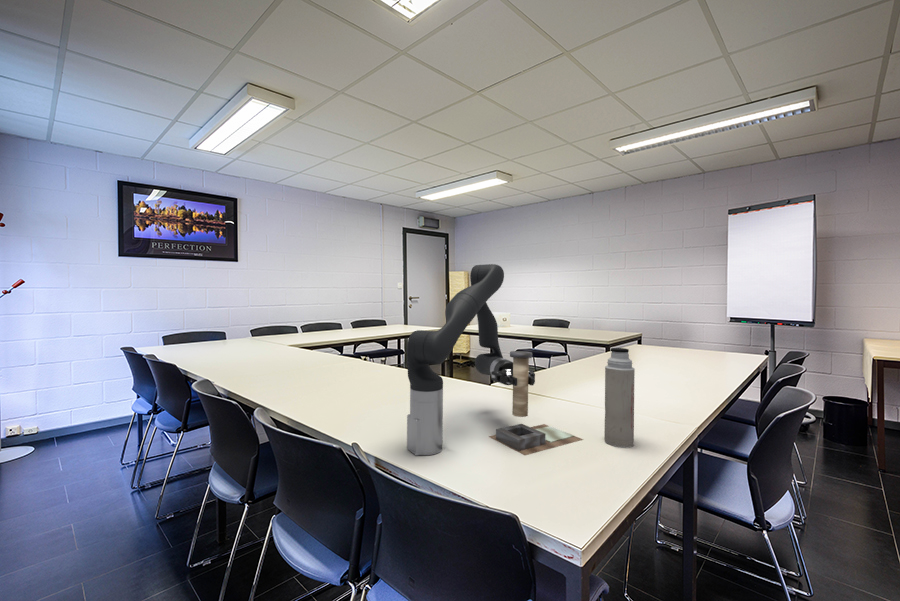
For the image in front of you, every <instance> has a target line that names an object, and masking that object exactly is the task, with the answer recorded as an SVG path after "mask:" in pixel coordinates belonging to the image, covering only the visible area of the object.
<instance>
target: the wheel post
mask: <svg viewBox="0 0 900 601" xmlns="http://www.w3.org/2000/svg"><path fill="white" fill-rule="evenodd" d="M509 357H511V358H512V359H513V361H512V362H513V376H514V377H516V378H517V386H513V385H512V409H511V412H512V414H511V415H512V416H514V417H516V418H525V417H528V416H529V414H528V413H529V384H528V375H529V371H530V368H529V364H530V359H532V358H533V352H532V351H525V350H523V351H522V350H512V351H510V352H509Z"/></svg>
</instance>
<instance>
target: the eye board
mask: <svg viewBox="0 0 900 601" xmlns="http://www.w3.org/2000/svg"><path fill="white" fill-rule="evenodd" d="M488 438H490V439H492V440H494V441H495V442H497V443H500V444H501V445H504V446H505V447H508V448H509V449H512V450H514V451H515V452H517V453H519V454H520V455H523V456H528V455H532V454H537V453H540V452H543V451H547V450H551V449H554V448H558V447H561V446H564V445H565V446H566V445H569V444H572V443H573V444H574V443H576V442H579V441H583V440H584V438H581V437H578V436H576V435H574V434H571V433H569V432H567V431H564V430H562V429H558V428H556V427H553V426H551V425H548V424H545V423H543V424H540V425H539V424H538V425H533V426H528V425H526V424H524V423H519V424H518V423H517V424H515V425H511V426H509V425H508V426H504V427H499V428H496V429H495V434H493V435H488Z"/></svg>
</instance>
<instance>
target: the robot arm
mask: <svg viewBox="0 0 900 601" xmlns="http://www.w3.org/2000/svg"><path fill="white" fill-rule="evenodd" d="M469 276H470V277H469V278H470V280H469V281H470V285H469V286H468V287H466V288H463V289H461V290H460V291H459V292H457V293H456V294H455V295H454V296H453V297H452V298H451V300H449V302H447V304H446V307H445V312H444V313H445V321H446V322H445V324H444V325H443V326H442V327H441V328H440V329H438V330H420V329H419V330H418V329H417V330H414V331H413V332H412V333H411V334H410V335H409V337H408V339H407V343H406V344H407V345H406V360H407V361H406V363H407V378H408V381H409V390H410V391H409V414H407V415H406V449H407V450H408V451H410V452H411V453H412V454H413V455H415V456H430V455H436V454H439V453H440V452H442V451H443V443H444V441H443V439H444V438H443V433H444V432H443V428H444V426H443V425H444V421H443V420H444V418H443V417H444V380H443V377H442V376H441V375H439V374H438V373H436V371H434V370H432V368H431V366H430V365H435V366H436V365H441V364H443V363H444V362H445V361H447V359H448V357H449V356H450V354H451V353H452V350H453V349H454V348H455V345H456V344H457V343H458V340H459V338H461V335H462V334H463V333H464V331H465V330H466V328H467V327H468V326H469V324H470V323H472V321H473V320H474V318H475V317H477V319H476V320H477V327H478V328H477V330H478V344H479V346H480V347H481V348H484V349H491V350H492V352H489V353H488V352H487V353H485V352H484V353H480V354H478V355H476V357H475V360H474V365H475V369H476V371H477V372H478V373H479V374H481V375H485V376H491V381H493V382H495V383H499V384H501V385H504V386H512V387H513V386H517V378H516V377H514V376H513V361H511V360H509V359H507V358H504V356H503V353H502V351H501V347H500V343H499V332H498V330H499V328H498V322H497V320H496V317H495V315H494V313H493V312H492V311H491V309H490V307H489V305H488V303H487V301H488V300H489V299H490V298H492V296H493V295H494V294H495V293H497V291H499V289H500V288H501V287H502V285H503V283H504V279H505V272H504V269H503V267H502V266H501V265H498V264H495V263H490V264H477V265H473V267H472V268H471V269H470V274H469ZM535 384H536V374H535V372H534V371H533V370H529V375H528V386H534V385H535Z"/></svg>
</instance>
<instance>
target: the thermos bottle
mask: <svg viewBox="0 0 900 601" xmlns="http://www.w3.org/2000/svg"><path fill="white" fill-rule="evenodd" d="M629 352H630V349H628V348H622V347H612V348H610V357H609V358H608V359H607V362H606V363H607V365H605V366H604V372H605V373H604V437H603V438H604V442H605V443H606V444H607V445H610V446H613V447H618V448H632V447H633V446H634V442H635V441H634V440H635V439H634V438H635V434H634V433H635V432H634V431H635V374H636V373H635V370H636V369H635V368H634V367H633V360H632V359H630V355H629V354H630V353H629Z"/></svg>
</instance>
